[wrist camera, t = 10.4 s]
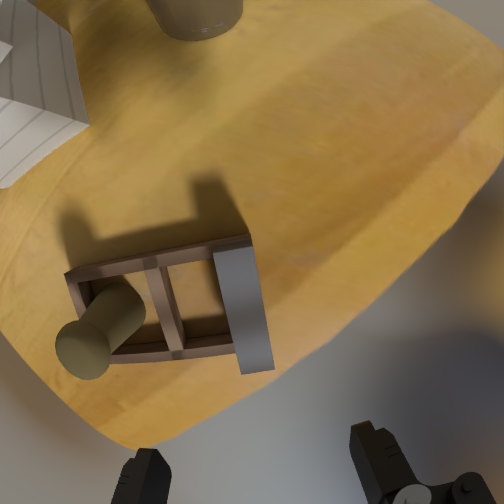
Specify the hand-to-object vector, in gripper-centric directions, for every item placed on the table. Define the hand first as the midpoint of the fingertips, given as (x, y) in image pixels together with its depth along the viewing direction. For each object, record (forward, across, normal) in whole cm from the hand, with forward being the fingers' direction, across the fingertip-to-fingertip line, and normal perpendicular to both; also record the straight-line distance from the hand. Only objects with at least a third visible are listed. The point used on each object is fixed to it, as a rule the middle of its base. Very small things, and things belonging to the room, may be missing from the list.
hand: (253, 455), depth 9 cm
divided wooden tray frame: (+20, +9, 0) cm, 21 cm away
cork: (+20, +14, 0) cm, 24 cm away
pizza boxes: (+20, +27, -25) cm, 42 cm away
